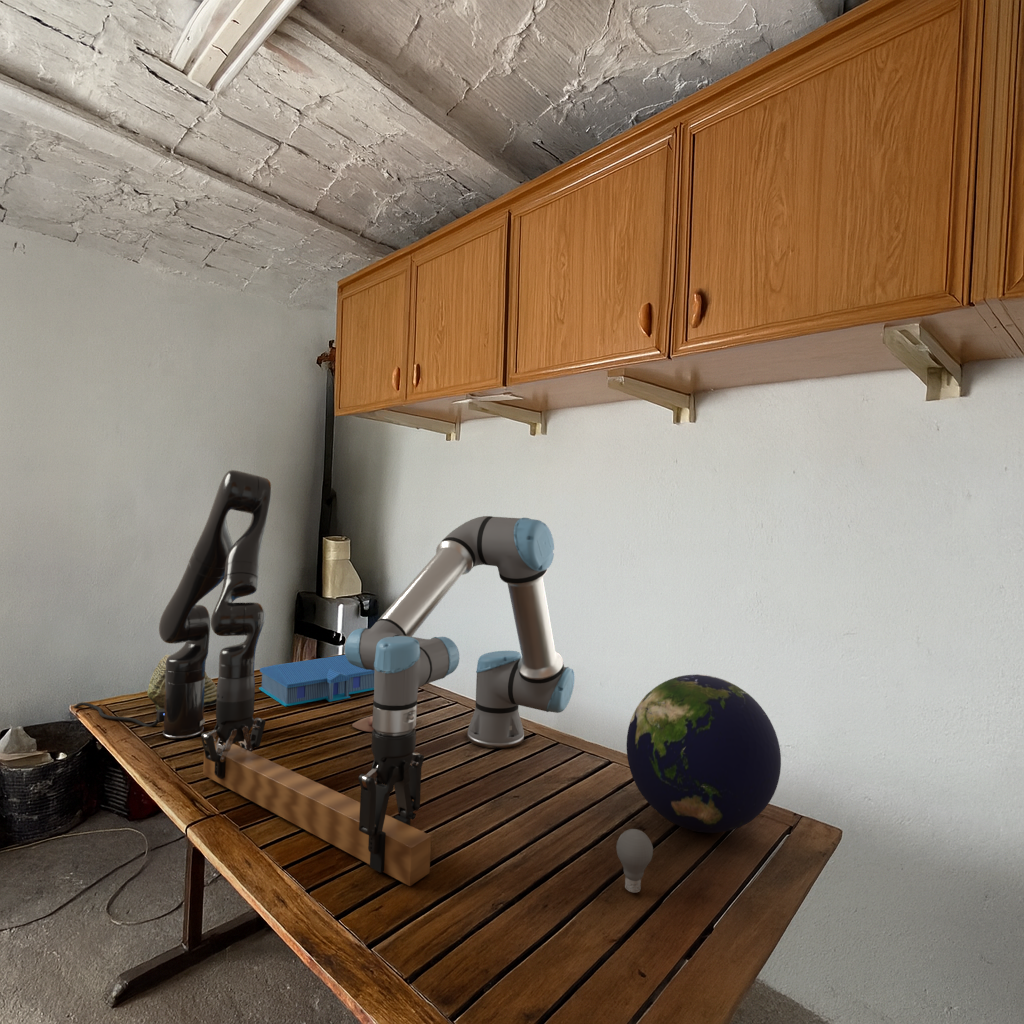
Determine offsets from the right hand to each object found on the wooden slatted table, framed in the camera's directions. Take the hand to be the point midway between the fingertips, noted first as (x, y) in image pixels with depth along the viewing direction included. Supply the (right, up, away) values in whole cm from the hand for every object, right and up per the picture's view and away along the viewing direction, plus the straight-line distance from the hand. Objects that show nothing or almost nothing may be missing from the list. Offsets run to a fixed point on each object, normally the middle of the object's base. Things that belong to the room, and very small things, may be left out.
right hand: (388, 861), depth 110 cm
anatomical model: (-16, +1, +67) cm, 68 cm away
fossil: (-75, +4, +75) cm, 106 cm away
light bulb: (+41, -3, -4) cm, 42 cm away
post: (-20, +1, +13) cm, 24 cm away
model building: (-38, +3, +98) cm, 105 cm away
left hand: (-39, +4, +27) cm, 48 cm away
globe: (+59, -3, +19) cm, 62 cm away
